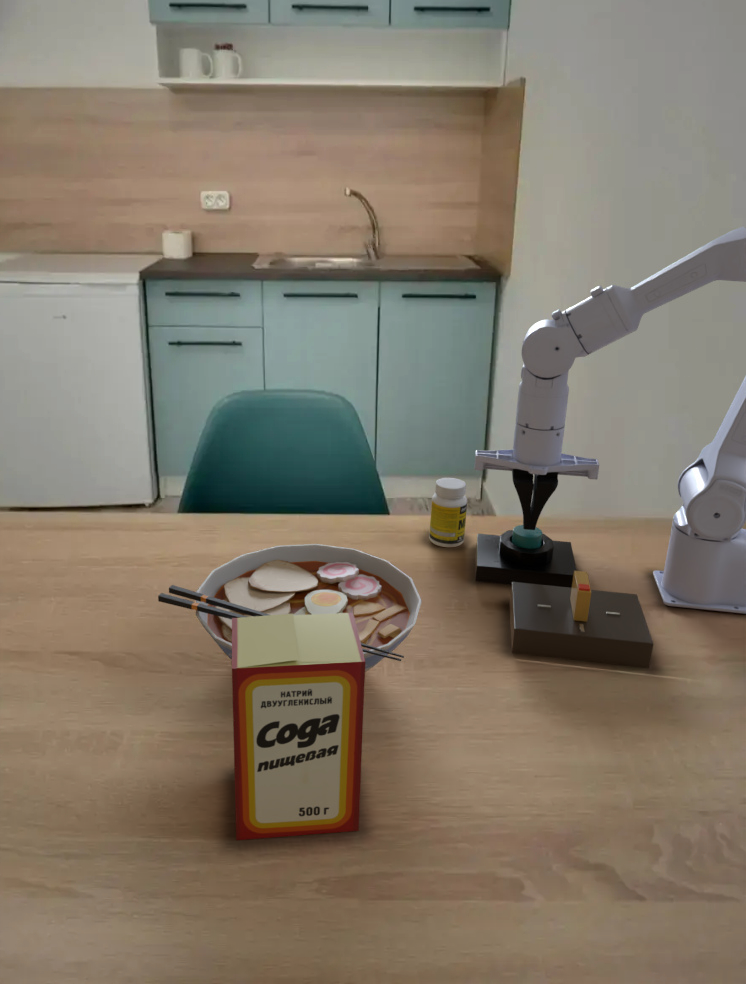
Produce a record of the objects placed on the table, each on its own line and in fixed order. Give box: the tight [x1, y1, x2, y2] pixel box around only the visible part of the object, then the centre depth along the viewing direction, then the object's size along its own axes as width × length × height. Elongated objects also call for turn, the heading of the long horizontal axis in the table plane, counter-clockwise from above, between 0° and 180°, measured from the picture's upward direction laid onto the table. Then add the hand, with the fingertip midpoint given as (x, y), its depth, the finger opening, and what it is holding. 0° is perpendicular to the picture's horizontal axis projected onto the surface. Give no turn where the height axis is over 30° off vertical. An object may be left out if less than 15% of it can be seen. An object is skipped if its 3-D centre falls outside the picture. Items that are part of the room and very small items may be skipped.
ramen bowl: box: [157, 543, 423, 673], centre depth 85 cm, size 25×23×8 cm
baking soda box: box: [231, 613, 366, 841], centre depth 64 cm, size 10×6×16 cm
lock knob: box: [570, 570, 592, 622], centre depth 90 cm, size 4×1×4 cm, turn 170°
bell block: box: [474, 529, 578, 588], centre depth 104 cm, size 12×9×4 cm
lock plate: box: [508, 582, 654, 669], centre depth 91 cm, size 14×10×3 cm
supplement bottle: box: [428, 477, 468, 548], centre depth 111 cm, size 5×5×8 cm
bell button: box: [512, 524, 544, 549], centre depth 104 cm, size 4×4×2 cm
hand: (528, 526), depth 103 cm, fingers closed
